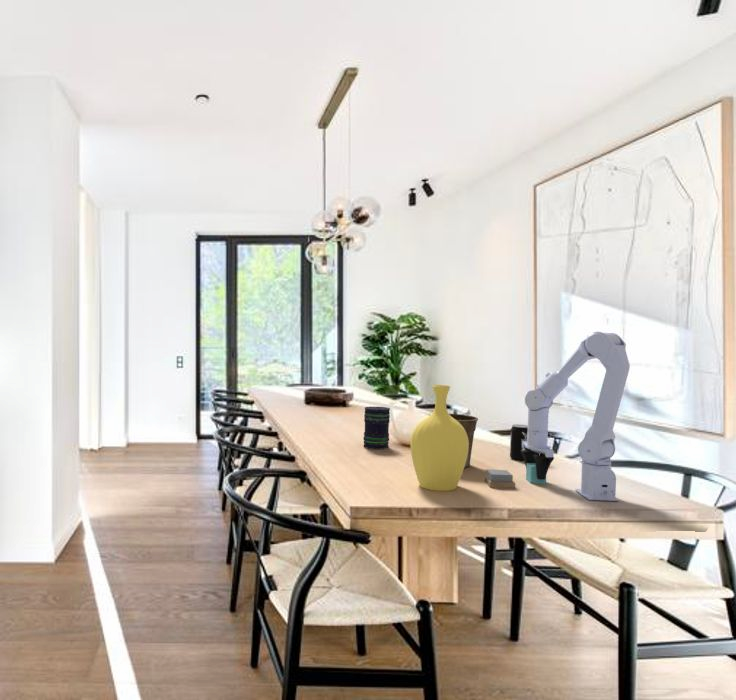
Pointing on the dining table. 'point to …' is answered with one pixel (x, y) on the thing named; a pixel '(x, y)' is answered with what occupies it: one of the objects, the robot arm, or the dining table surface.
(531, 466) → the teal block
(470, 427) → the plant pot
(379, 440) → the storage jar
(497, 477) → the grey slab
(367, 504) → the dining table surface
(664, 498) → the dining table surface
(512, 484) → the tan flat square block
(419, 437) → the vase
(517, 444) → the beverage can
